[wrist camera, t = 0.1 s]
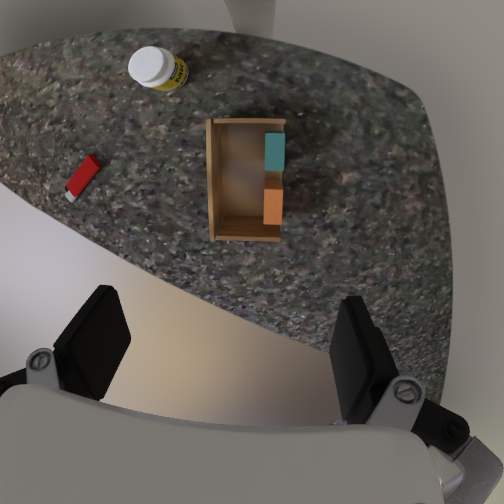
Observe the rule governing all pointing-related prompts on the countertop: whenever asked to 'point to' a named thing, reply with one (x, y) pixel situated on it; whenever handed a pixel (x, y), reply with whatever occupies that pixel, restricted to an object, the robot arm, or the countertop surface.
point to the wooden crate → (239, 178)
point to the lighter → (82, 177)
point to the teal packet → (274, 150)
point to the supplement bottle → (158, 69)
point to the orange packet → (273, 201)
